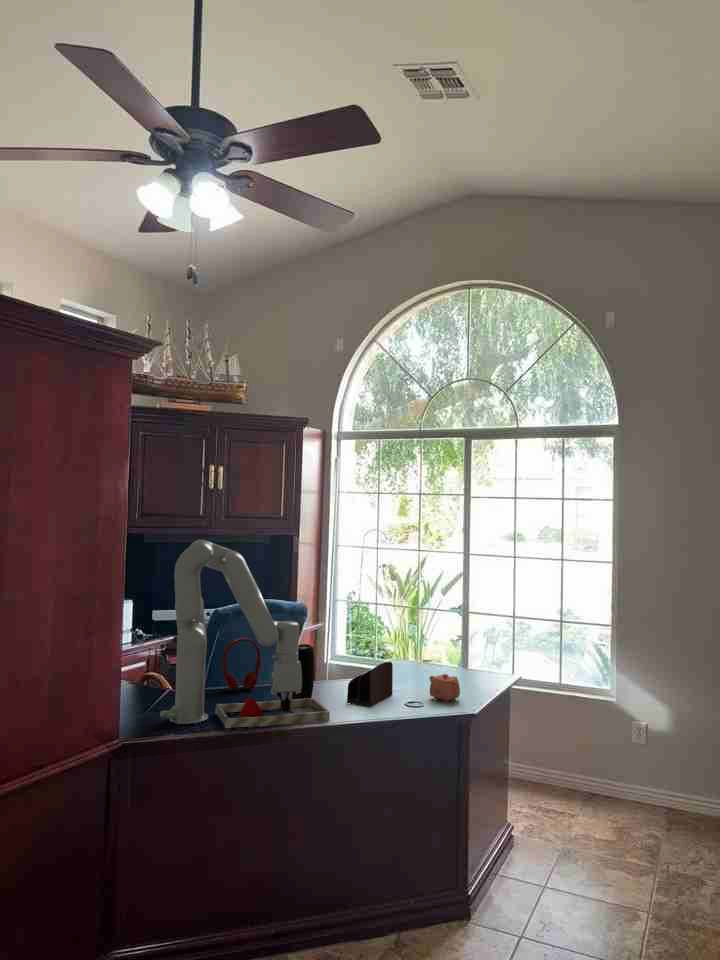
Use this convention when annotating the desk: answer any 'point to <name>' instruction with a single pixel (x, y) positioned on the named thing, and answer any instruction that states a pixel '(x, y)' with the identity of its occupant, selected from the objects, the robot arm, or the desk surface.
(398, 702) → the desk surface
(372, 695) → the letter holder
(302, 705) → the shallow open box tray
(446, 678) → the teapot
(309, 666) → the portable speaker
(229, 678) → the headphones
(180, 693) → the robot arm
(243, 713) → the gemstone
